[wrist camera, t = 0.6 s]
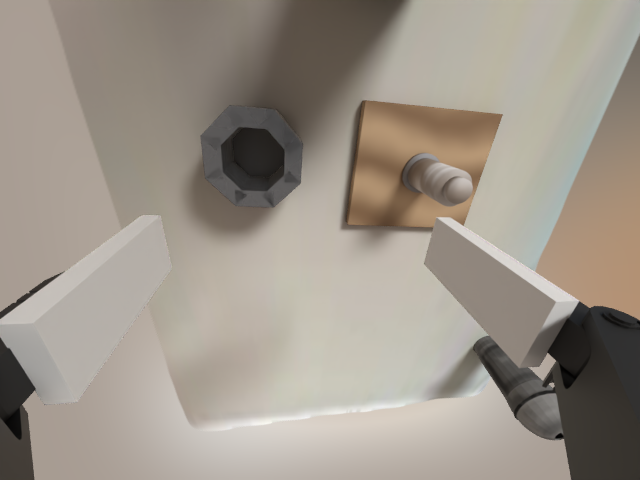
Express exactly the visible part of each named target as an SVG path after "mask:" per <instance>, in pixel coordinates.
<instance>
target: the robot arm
mask: <svg viewBox="0 0 640 480" xmlns="http://www.w3.org/2000/svg"><path fill="white" fill-rule="evenodd" d="M424 264H425V265H426V267H427V268H428V269H429V270H430V271H431V272H432V273H433V274H434V275H435V276H436V277H437V279H438V280H439V281H440V282H441V283H442V284H443V285H444V286H445V287H446V288H447V290H448V291H449V292H450V293H451V294H452V295H453V296H454V297H455V298H456V299H457V301H458V302H459V303H460V304H461V305H462V306H463V307H464V308H465V309H466V310H467V312H468V313H469V314H470V315H471V316H472V317H473V318H474V319H475V320H476V321H477V323H478V324H479V325H480V326H481V327H482V328H483V329H484V330H485V331H486V332H487V334H488V335H489V336H490V337H491V338H492V339H493V340H494V341H495V342H496V343H497V344H498V346H499V347H500V348H501V349H502V350H503V351H504V352H505V353H506V354H507V355H508V357H509V358H510V359H511V360H512V361H513V362H514V363H515V364H516V365H517V366H518V368H526V367H539V366H540V365H541V363H542V361H543V360H544V358H545V356H546V355H547V353H549V354H550V355H551V356H552V357H553V358H554V359H555V360H556V362H555V364H554V365H553V367H552V368H551V370H550V372H549V373H548V375H547V376H546V378H545V379H544V381H543V384H542V387H545V388H546V387H547V386H548V384H549V383H552V382H553V383H554V385H555V387H554V388H553V389H552V391H554V392H556V396H557V402H558V407H559V413H560V419H561V424H562V430H563V436H564V441H565V446H566V452H567V458H568V464H569V469H570V475H571V480H640V320H638V319H636V318H634V317H632V316H630V315H628V314H626V313H624V312H621V311H618V310H615V309H612V308H608V307H603V306H594V307H591V308H588V307H587V306H586V305H584V304H583V303H581V302H579V300H577V299H576V298H574V297H573V296H571V295H569V294H568V293H566V292H564V291H563V290H561V289H560V288H559V287H557V286H555V285H554V284H552V283H551V282H549V281H548V280H546V279H545V278H543V277H541V276H540V275H538V274H537V273H535V272H534V271H532V270H531V269H529V268H528V267H526V266H525V265H523V264H521V263H520V262H518V261H517V260H515V259H514V258H512V257H511V256H509V255H508V254H506V253H504V252H503V251H501V250H500V249H498V248H497V247H495V246H494V245H492V244H491V243H489V242H487V241H486V240H484V239H483V238H481V237H480V236H478V235H477V234H475V233H474V232H472V231H470V230H469V229H467V228H466V227H464V226H463V225H461V224H460V223H458V222H456V221H455V220H453V219H452V218H450V217H436V220H435V224H434V228H433V231H432V235H431V239H430V243H429V247H428V250H427V254H426V258H425V262H424ZM171 269H172V265H171V260H170V256H169V251H168V247H167V242H166V238H165V233H164V229H163V224H162V220H161V216H160V215H141V216H140V217H138V218H137V219H136V220H134V221H133V222H132V223H130V224H129V225H128V226H126V227H125V228H123V229H122V230H121V231H119V232H118V233H117V234H115V235H114V236H113V237H111V238H110V239H109V240H108V241H106V242H104V243H103V244H102V245H100V246H99V247H98V248H96V249H95V250H94V251H92V252H91V253H89V254H88V255H87V256H85V257H84V258H83V259H81V260H80V261H79V262H77V263H76V264H75V265H73V266H72V267H71V268H69V269H68V270H66V271H64V272H62V273H60V274H58V275H56V276H54V277H51V278H49V279H47V280H45V281H43V282H42V283H41V284H39V285H38V286H36V287H35V288H34V289H32V290H31V291H29V292H30V293H28V294H25V295H24V296H22V297H21V298H20V299H18V300H17V302H16V303H12V304H11V305H10V306H8V307H7V308H5V309H4V310H3V311H1V312H0V480H34V471H33V462H32V452H31V441H30V431H29V422H28V413H27V412H26V410H25V408H24V407H23V405H22V404H23V403H24V402H25V401H26V399H27V398H28V397H29V396H30V395H31V394H32V393H33V391H34V390H35V391H36V393H37V395H38V396H39V398H40V399H41V401H42V402H43V404H44V405H51V404H64V403H76V402H78V401H79V399H80V398H81V396H82V395H83V393H84V392H85V391H86V389H87V388H88V386H89V384H91V382H92V381H93V379H94V378H95V377H96V375H97V374H98V372H99V371H100V369H101V368H102V367H103V365H104V364H105V362H106V361H107V360H108V358H109V357H110V355H111V354H112V353H113V351H114V350H115V348H116V347H117V345H118V344H119V343H120V341H121V340H122V338H123V337H124V336H125V334H126V333H127V331H128V330H129V329H130V327H131V326H132V324H133V323H134V321H135V320H136V319H137V317H138V316H139V314H140V313H141V312H142V310H143V309H144V307H145V306H146V305H147V303H148V302H149V300H150V299H151V297H152V296H153V295H154V293H155V292H156V290H157V289H158V288H159V286H160V285H161V283H162V282H163V281H164V279H165V278H166V276H167V275H168V273H169V272H170V271H171Z"/></svg>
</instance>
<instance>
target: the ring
mask: <svg viewBox="0 0 640 480" xmlns="http://www.w3.org/2000/svg"><path fill="white" fill-rule="evenodd" d="M243 127H248V128H260V129H267V130H268V131H269V133H270V134H271V135H272V136H273V137H274V138H275V139H276V141H277V142H278V143H279V144H280V145H281V146H282V147H283V148H284V150H285V154H284V164H283V165H282V166H281V167H280V168H279V169H278V170H277V171H276V172H275V173H274V174H273V175H272V176H270V177H259V176H249V175H248V174H247V173H246V172H245V171H244V170H243V169H242V168H241V167H240V166H239V165H238V164H237V163H236V162H235V161H234V154H233V138H234V137H235V136H236V135H237V133H238V132H239V131H240V130H241V129H242V128H243ZM201 144H202V153H203V163H204V172H205V179H207V180H208V181H209V182H210V183H211V184H212V185H213V186H214V187H215V188H216V189H218V190H219V191H220V192H221V193H222V194H223V195H224V196H225V197H226V198H227V199H229V200H230V201H231V202H232V203H233V204H234V205H235V206H248V207H275V206H276V205H277V204H278V203H279V202H280V201H281V200H283V199H284V198H285V197H286V196H287V195H288V194H289V193H290V192H292V191H293V190H294V189H295V188H296V187H297V186H298V185H299V184H301V168H302V149H303V143H302V141H301V139H300V137H299V136H298V135H297V134H296V132H295V131H294V130H293V129H292V128H291V126H290V125H289V124H288V123H287V122H286V120H285V119H284V118H283V117H282V116H281V114H280V113H279V112H278V111H277V109H269V108H259V107H248V106H234V105H230V106H229V107H228V108H227V109H226V110H225V111H224V112H223V113H222V114H221V115H220V116H219V117H218V118H217V119H216V120H215V121H214V122H213V123H212V124H211V126H210V127H209V128H208V129H207V130H206V131H205V132H204V133H203V134H202V135H201Z"/></svg>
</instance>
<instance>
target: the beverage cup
mask: <svg viewBox="0 0 640 480" xmlns="http://www.w3.org/2000/svg"><path fill="white" fill-rule="evenodd" d="M474 351H475V352H476V353H477V355H478V357H479V359H480V360H481V362H482V364H483V365H484V367H485V368H486V370H487V371H488V373H489V374H490V376H491V377H492V379H493V380H494V382H495V383H496V385H497V386H498V388H499V389H500V391H501V392H502V394H503V395H504V397H505V399H506V400H507V403H508V405H509V407H510V408H511V410H512V412H513V413H514V416H515V418H516V419H517V420H519V421H520V422H521V424H522V425H524V427H526V428H527V429H528V430H529V431H531V432H532V433H534V434H536V435H537V436H539V437H542V438H545V439H549V440H561V439H564V436H563V430H562V424H561V419H560V413H559V407H558V402H557V396H556V392H554V391H552V389H553V388H552V387H551V386H550V385H548V386H547V387H546V388H545V387H542V384H543V381H542V380H541V379H540V378H539V377H538V376H537V375H535V373H534V372H533V371H532V370H530V369H529V368H528V367H526V368H518V366H517V365H516V364H515V363H514V362H513V361H512V360H511V359H510V358H509V357H508V355H507V354H506V353H505V352H504V351H503V350H502V349H501V348H500V347H499V346H498V344H497V343H496V342H495V341H494V340H493V339H492V338H491V337H490V336H486V337H483V338H481V339H480V340H478V341H477V342H476V343H475V345H474Z"/></svg>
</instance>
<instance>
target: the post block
mask: <svg viewBox="0 0 640 480" xmlns="http://www.w3.org/2000/svg"><path fill="white" fill-rule="evenodd" d="M502 115H503V114H493V113H483V112H474V111H464V110H454V109H444V108H435V107H425V106H415V105H406V104H396V103H386V102H377V101H367V100H364V101H363V102H362V109H361V116H360V123H359V131H358V138H357V145H356V152H355V160H354V167H353V174H352V181H351V189H350V196H349V203H348V210H347V218H346V222H347V224H348V225H377V226H408V227H434V224H435V220H436V217H450V218H452V219H453V220H455V221H456V222H458V223H460V224H461V225H463V226H464V223H465V220H466V217H467V214H468V211H469V209H470V206H471V203H472V200H473V197H474V194H475V192H476V189H477V186H478V183H479V180H480V177H481V175H482V172H483V169H484V166H485V163H486V160H487V158H488V155H489V152H490V149H491V146H492V143H493V141H494V138H495V135H496V132H497V129H498V126H499V124H500V121H501V118H502Z"/></svg>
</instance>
